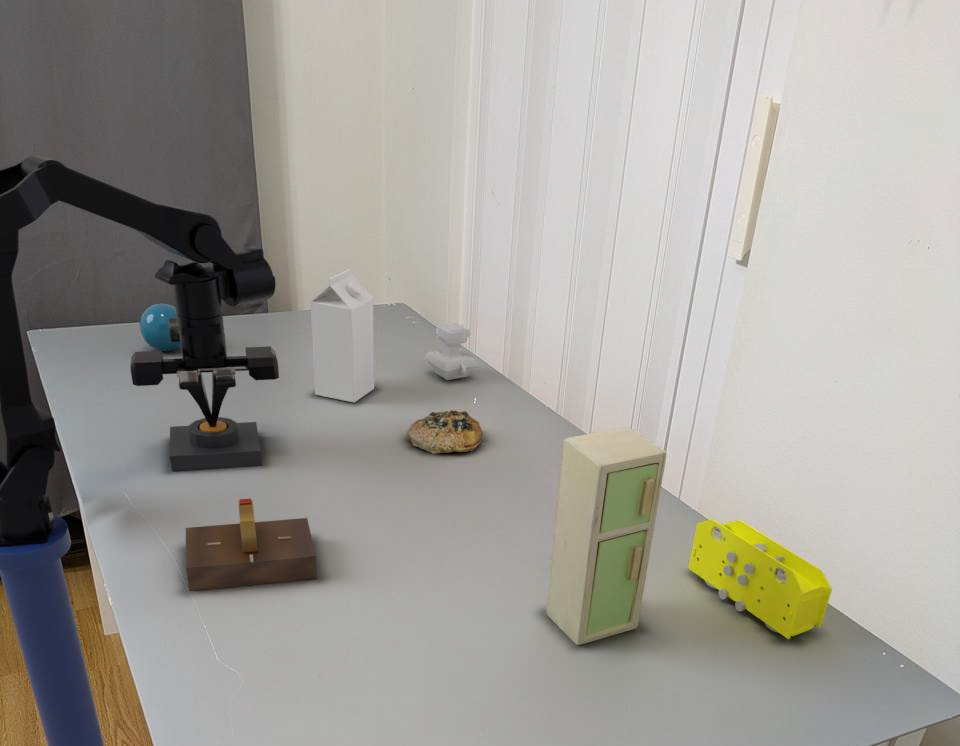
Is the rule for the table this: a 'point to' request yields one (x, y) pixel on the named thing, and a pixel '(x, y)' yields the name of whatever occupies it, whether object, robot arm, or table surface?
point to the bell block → (214, 446)
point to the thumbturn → (247, 525)
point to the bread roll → (446, 432)
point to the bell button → (219, 427)
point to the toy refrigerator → (603, 532)
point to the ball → (158, 326)
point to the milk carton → (343, 339)
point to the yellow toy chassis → (760, 576)
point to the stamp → (452, 353)
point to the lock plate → (249, 555)
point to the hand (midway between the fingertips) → (212, 425)
